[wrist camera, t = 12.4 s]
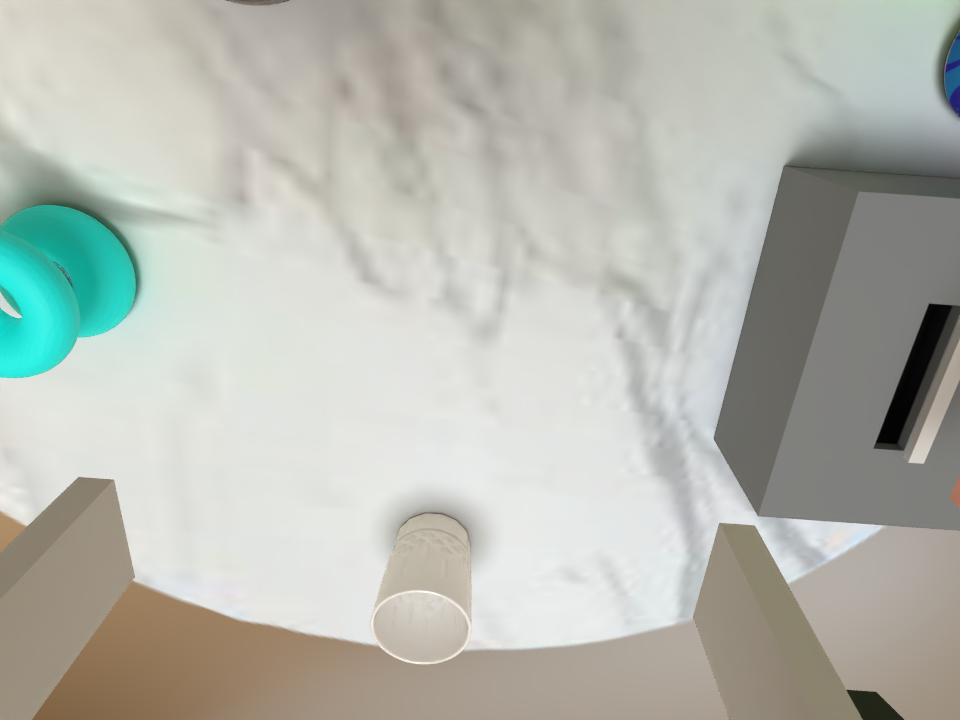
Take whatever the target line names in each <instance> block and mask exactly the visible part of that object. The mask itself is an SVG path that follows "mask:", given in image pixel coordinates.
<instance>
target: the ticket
mask: <svg viewBox="0 0 960 720" xmlns="http://www.w3.org/2000/svg"><path fill="white" fill-rule="evenodd" d="M950 499H951V500H952V501H953V502H954V503H955V504H956V505H957V506H958V507H959V508H960V476H959V478H958V480H957V482H956V485H955V487H954V489H953V491H952V493H951V495H950Z"/></svg>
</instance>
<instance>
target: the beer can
mask: <svg viewBox="0 0 960 720" xmlns="http://www.w3.org/2000/svg"><path fill="white" fill-rule="evenodd" d="M944 85H945V92H946V96H947V99H948V101H949V104H950V106H951V107H952V109H953V110H954V112H955V113H956V114H957V115H958V116H959V117H960V30H959V32H958V34H957V36H956V37H955V39H954V41H953V43H952V45H951V47H950V50H949V52H948V55H947V59H946V63H945V69H944Z"/></svg>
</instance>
